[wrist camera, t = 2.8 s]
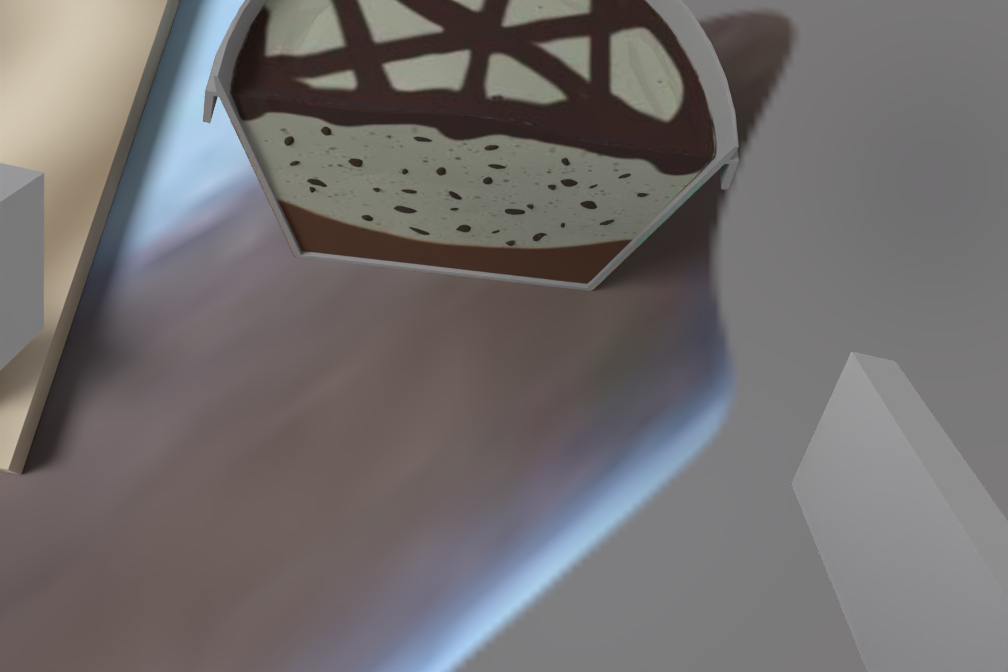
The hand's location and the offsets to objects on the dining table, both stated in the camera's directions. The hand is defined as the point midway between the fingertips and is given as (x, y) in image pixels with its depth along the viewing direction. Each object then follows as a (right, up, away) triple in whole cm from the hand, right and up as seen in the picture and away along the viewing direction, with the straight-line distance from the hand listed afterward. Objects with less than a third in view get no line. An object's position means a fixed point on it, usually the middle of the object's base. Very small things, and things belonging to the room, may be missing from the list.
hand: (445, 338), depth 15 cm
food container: (-1, +5, +15) cm, 16 cm away
